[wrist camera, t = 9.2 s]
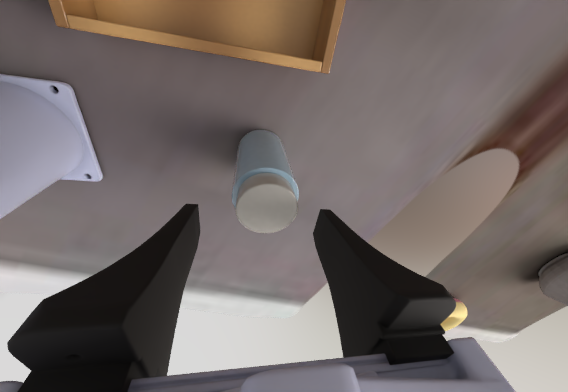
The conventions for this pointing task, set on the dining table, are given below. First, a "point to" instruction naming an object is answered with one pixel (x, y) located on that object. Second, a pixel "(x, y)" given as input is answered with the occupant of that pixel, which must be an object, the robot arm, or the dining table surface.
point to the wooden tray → (218, 26)
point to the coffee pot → (555, 279)
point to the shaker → (264, 184)
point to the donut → (455, 316)
